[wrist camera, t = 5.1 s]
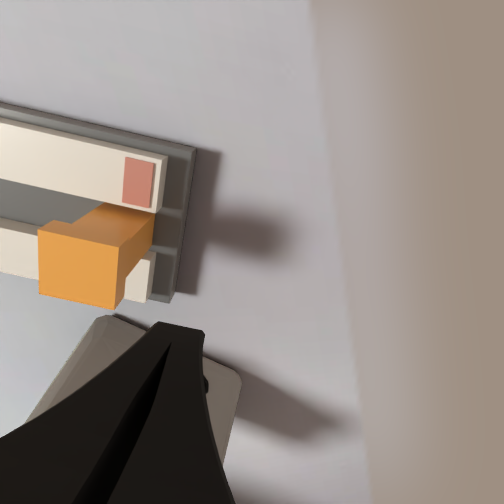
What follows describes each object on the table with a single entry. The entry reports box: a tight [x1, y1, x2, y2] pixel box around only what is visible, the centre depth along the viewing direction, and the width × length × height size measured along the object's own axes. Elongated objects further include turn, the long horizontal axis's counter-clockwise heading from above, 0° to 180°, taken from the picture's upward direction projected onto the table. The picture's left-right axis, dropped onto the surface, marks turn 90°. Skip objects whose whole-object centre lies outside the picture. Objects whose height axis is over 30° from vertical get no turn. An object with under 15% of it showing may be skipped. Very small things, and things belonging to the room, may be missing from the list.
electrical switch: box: [24, 315, 242, 466], centre depth 19 cm, size 9×5×9 cm, turn 63°
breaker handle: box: [37, 202, 155, 310], centre depth 15 cm, size 3×3×5 cm
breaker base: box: [0, 102, 197, 304], centre depth 18 cm, size 8×11×2 cm
